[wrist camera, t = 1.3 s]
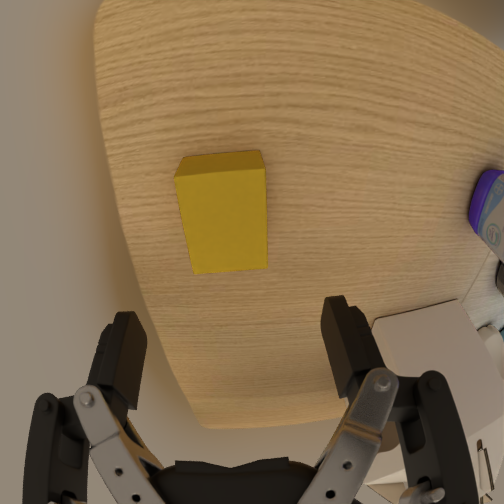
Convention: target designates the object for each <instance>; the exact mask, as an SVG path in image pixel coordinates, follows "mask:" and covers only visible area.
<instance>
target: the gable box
mask: <svg viewBox="0 0 504 504" xmlns="http://www.w3.org/2000/svg"><path fill="white" fill-rule="evenodd" d="M371 331H372V335H373V336H374V338H375V341H376V343H377V346H378V348H379V351H380V353H381V356H382V358H383V361H384V363H385V365H386V367H387V368H388V369H389V370H391V371H393V372H394V373H395V374H396V375H398V376H404V377H420V376H421V375H422V374H423V373H424V372H426V371H429V370H435V371H438V372H440V373H441V374H443V375H444V377H445V378H446V380H447V382H448V385H449V388H450V390H451V393H452V396H453V399H454V402H455V405H456V408H457V411H458V414H459V417H460V420H461V423H462V427H463V430H464V433H465V437H466V441H467V444H468V448H469V452H470V456H471V460H472V465H473V469H474V474H475V479H476V484H477V490H478V496H479V504H483V503H486V502H490V501H492V498H491V497H490V496H488V494H487V493H488V492H491V491H492V490H494V483H495V481H496V478H497V475H498V472H499V469H500V466H501V463H502V459H503V456H504V382H503V380H502V377H501V375H500V373H499V371H498V369H497V367H496V365H495V363H494V361H493V359H492V357H491V355H490V353H489V352H488V350H487V348H486V346H485V344H484V342H483V340H482V339H481V337H480V335H479V333H478V332H477V330H476V328H475V327H474V325H473V323H472V322H471V320H470V318H469V317H468V315H467V313H466V312H465V310H464V309H463V307H462V305H461V304H460V302H459V301H458V299H456V300H452V301H449V302H445V303H442V304H438V305H434V306H430V307H426V308H422V309H418V310H414V311H410V312H406V313H401V314H397V315H392V316H388V317H383V318H378V319H376V320H375V322H374V325H373V328H372V330H371ZM344 400H345V404H346V408H347V407H348V405H349V402H348V399H347V397H345V398H344ZM382 437H383V438H382V443H381V445H380V448H379V450H378V452H377V454H376V457H375V459H374V461H373V463H372V465H371V467H370V469H369V471H368V473H367V475H366V477H365V479H364V481H363V483H364V484H365V485H367V486H368V487H370V488H371V489H372V490H374V491H375V492H376V493H378V494H379V495H381V496H382V497H383V498H385V499H386V500H388V501H389V502H391V503H392V504H398V503H399V499H400V496H401V495H402V493H403V492H404V491H405V490H406V489H408V483H407V477H406V472H405V466H404V461H403V456H402V451H401V447H400V442H399V438H398V433H397V429H396V425H395V422H386V424H385V427H384V429H383V432H382ZM481 448H482V450H480V449H481ZM479 450H480V451H479ZM478 451H479V452H478Z"/></svg>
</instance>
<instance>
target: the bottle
mask: <svg viewBox="0 0 504 504" xmlns="http://www.w3.org/2000/svg"><path fill="white" fill-rule="evenodd" d="M469 222H470V224H471V226H472V228H473V230H474V231H475V233H476V234H477V235H478V236H479V237H480V238H481V239H482V240H483V241H484V242H485V243H486V244H487V245H488V247H489V248H490V249H491V250H492V251H493V252H494V253H495V254H496V255H497V256H498V257H499V259H500V260H501V261H502V262H503V263H504V171H502V170H488V171H486V172H484V173H483V174H482V176H481V178H480V179H479V182H478V184H477V187H476V189H475V192H474V195H473V198H472V201H471V206H470V211H469Z"/></svg>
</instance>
